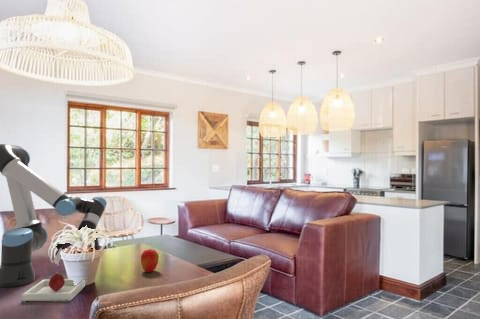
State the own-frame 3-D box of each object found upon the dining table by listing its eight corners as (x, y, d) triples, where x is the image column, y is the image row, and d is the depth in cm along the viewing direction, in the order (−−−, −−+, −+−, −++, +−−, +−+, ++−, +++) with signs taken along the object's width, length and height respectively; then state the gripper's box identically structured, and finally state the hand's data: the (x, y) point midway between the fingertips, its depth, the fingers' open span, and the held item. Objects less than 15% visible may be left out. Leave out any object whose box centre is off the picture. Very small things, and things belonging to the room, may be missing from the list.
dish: (21, 302, 129) (21, 294, 129) (43, 286, 147) (43, 279, 147) (70, 301, 131) (70, 293, 131) (85, 285, 149) (86, 278, 149)
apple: (153, 274, 166) (153, 250, 167) (136, 273, 168) (137, 249, 168) (161, 269, 175) (161, 246, 176) (145, 268, 177) (146, 245, 178)
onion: (66, 289, 142) (67, 270, 142) (59, 293, 136) (60, 274, 136) (53, 288, 142) (53, 269, 142) (45, 293, 136) (46, 274, 136)
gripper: (115, 229, 166) (99, 268, 150) (67, 227, 167) (47, 266, 152) (111, 220, 160) (94, 260, 145) (61, 218, 162) (39, 257, 147)
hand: (69, 263), depth 148 cm, fingers open, 13 cm apart
